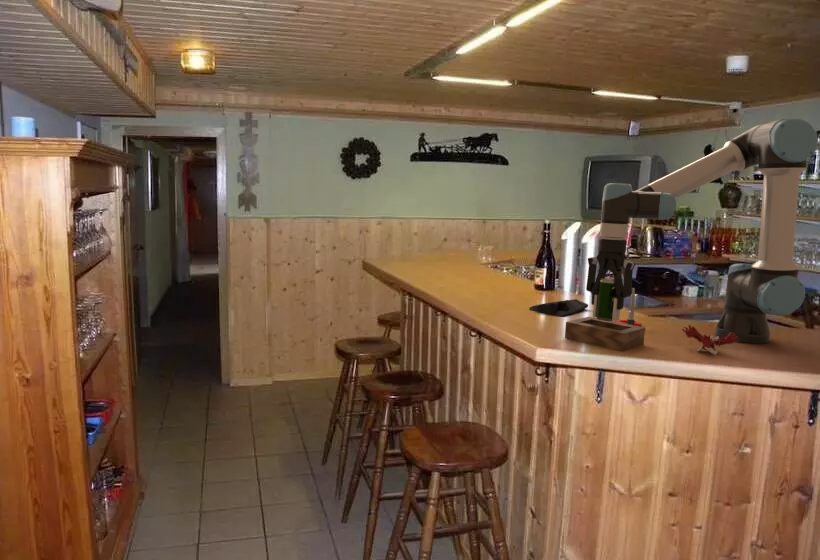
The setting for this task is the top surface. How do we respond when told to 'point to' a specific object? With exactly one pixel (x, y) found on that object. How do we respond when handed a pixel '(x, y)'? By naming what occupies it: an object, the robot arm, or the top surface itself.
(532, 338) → the top surface
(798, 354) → the top surface
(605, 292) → the beer can
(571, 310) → the dark slate chunk
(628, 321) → the grey and red post
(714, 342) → the figurine
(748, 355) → the top surface
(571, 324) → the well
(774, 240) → the robot arm
